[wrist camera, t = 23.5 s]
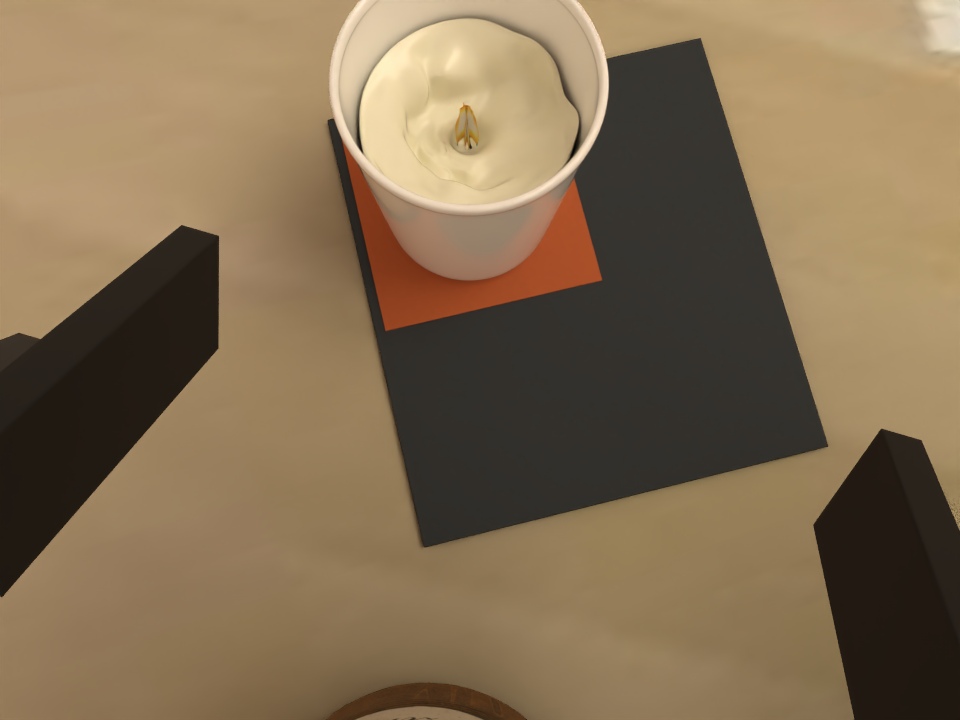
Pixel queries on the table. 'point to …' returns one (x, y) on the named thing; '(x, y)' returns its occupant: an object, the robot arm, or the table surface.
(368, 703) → the wooden container
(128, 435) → the robot arm
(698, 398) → the desk mat
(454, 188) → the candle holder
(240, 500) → the table surface
